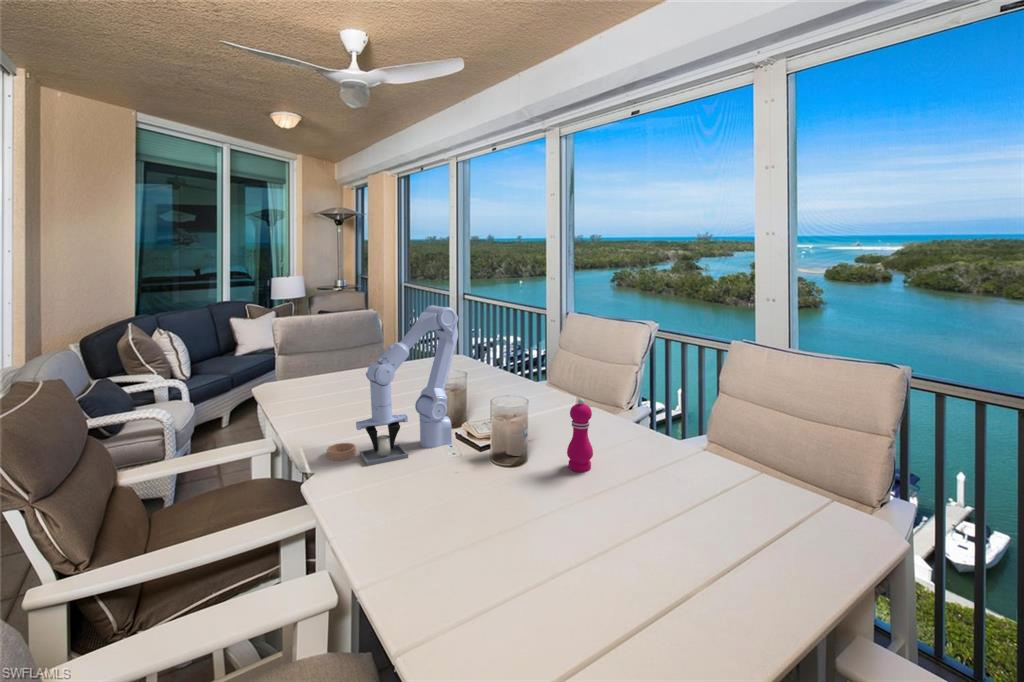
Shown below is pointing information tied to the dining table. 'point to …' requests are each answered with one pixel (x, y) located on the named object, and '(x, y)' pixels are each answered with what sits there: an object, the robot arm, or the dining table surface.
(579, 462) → the pepper mill
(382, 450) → the pale grey rounded cylinder
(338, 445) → the bowl
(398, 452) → the parts tray
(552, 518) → the dining table surface
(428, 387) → the robot arm
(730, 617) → the dining table surface
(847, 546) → the dining table surface
